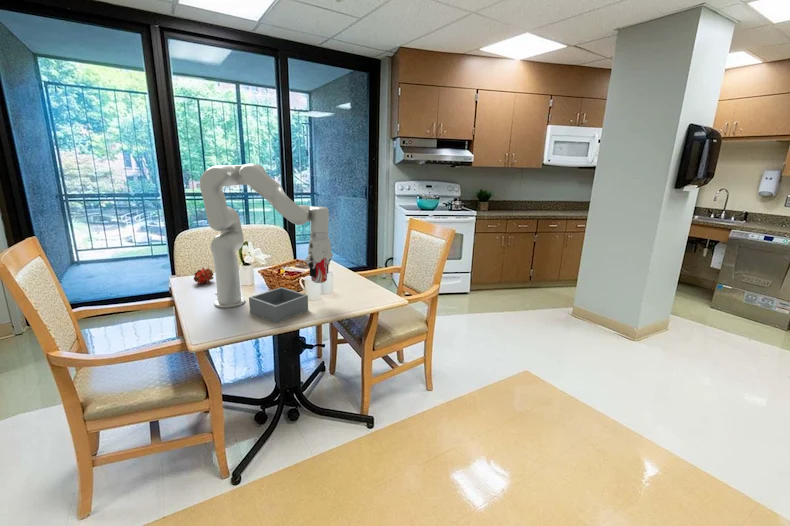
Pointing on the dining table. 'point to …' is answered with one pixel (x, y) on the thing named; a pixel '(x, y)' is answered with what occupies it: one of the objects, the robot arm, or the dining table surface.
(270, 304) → the crate
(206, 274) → the dragon fruit
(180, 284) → the dining table surface
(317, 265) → the soda can
